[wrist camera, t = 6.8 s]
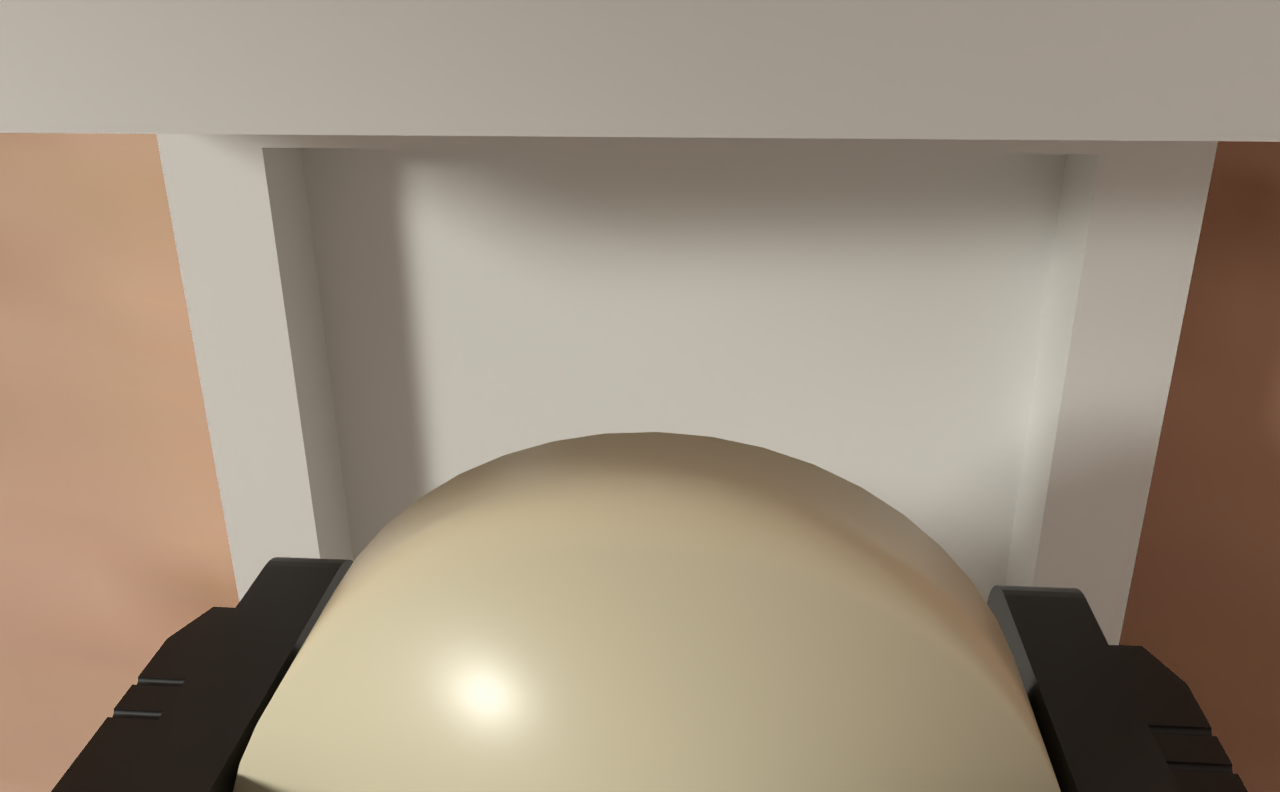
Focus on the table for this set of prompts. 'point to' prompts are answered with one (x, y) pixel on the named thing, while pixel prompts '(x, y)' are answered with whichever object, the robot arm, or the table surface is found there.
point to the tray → (679, 241)
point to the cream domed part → (651, 640)
